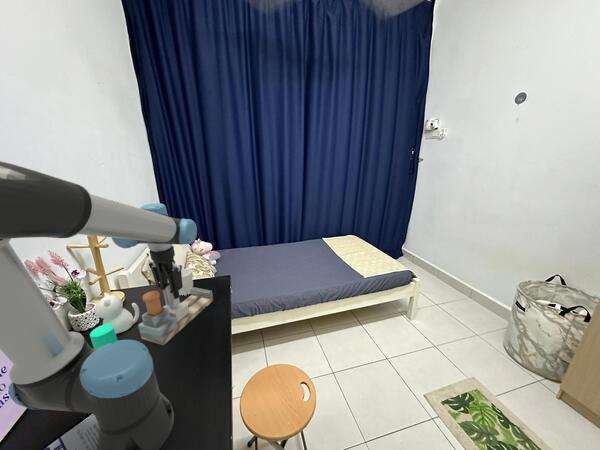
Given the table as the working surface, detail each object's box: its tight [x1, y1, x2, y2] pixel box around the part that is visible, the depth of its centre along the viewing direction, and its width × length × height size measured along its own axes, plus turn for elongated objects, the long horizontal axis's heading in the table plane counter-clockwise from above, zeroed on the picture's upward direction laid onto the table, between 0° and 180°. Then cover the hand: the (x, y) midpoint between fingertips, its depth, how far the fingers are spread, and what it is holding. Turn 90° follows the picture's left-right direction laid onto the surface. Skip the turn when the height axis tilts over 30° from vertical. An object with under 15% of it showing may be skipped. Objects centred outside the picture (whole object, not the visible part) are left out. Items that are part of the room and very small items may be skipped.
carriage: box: [163, 285, 189, 322], centre depth 93 cm, size 6×8×13 cm
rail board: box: [137, 286, 214, 346], centre depth 97 cm, size 27×10×10 cm, turn 161°
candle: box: [89, 324, 119, 349], centre depth 79 cm, size 6×6×12 cm
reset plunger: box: [142, 290, 162, 316], centre depth 85 cm, size 5×5×7 cm
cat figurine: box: [94, 292, 140, 335], centre depth 91 cm, size 9×12×15 cm
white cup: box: [179, 268, 194, 297], centre depth 115 cm, size 8×8×10 cm
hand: (173, 304), depth 94 cm, fingers closed on carriage, 3 cm apart
